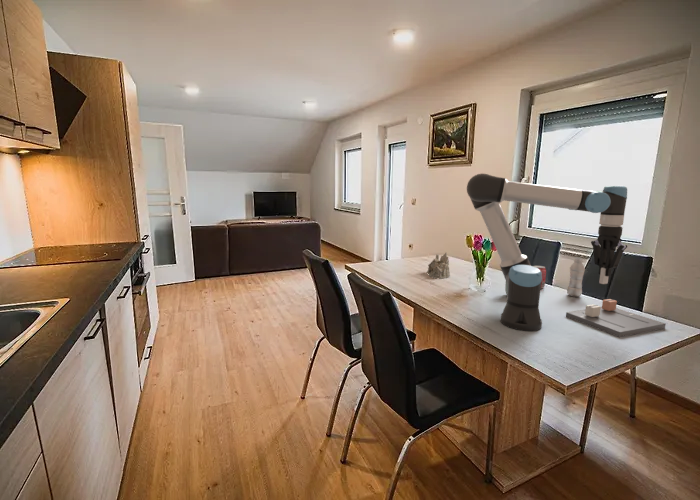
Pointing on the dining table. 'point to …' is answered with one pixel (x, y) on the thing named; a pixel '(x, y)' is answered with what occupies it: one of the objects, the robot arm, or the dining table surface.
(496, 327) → the dining table surface
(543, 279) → the soda can
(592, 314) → the white fader
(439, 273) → the ceramic cottage
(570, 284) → the plastic bottle
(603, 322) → the fader panel
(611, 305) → the terracotta fader
